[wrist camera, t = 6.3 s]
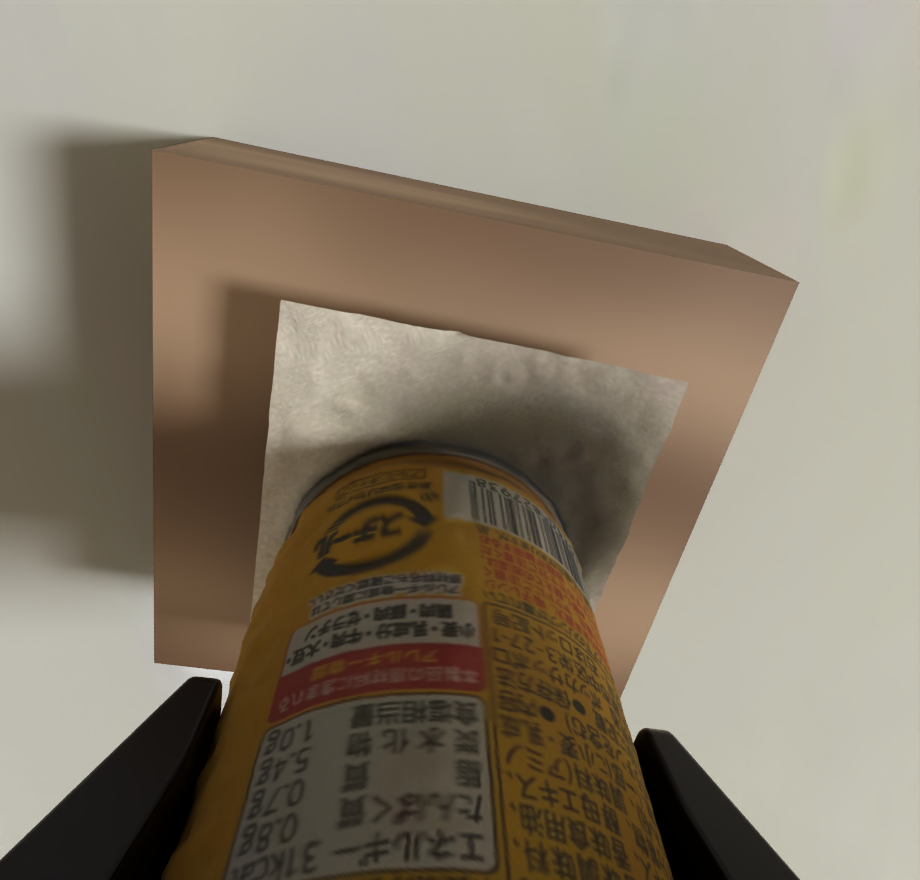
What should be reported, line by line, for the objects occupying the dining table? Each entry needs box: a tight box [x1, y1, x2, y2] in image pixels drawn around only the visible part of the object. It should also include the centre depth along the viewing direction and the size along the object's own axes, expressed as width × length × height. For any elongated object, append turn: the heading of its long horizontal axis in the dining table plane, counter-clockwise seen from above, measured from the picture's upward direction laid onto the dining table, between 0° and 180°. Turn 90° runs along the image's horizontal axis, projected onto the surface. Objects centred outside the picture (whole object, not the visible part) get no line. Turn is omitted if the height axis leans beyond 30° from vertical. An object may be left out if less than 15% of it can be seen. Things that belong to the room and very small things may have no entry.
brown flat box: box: [152, 137, 799, 697], centre depth 17 cm, size 12×12×4 cm
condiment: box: [161, 300, 688, 880], centre depth 8 cm, size 7×8×12 cm
